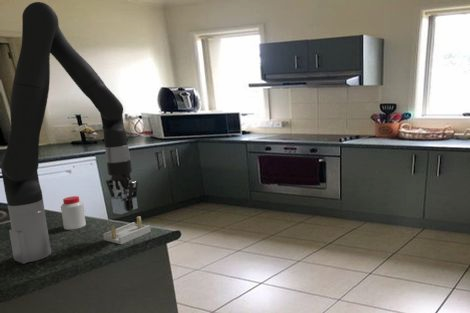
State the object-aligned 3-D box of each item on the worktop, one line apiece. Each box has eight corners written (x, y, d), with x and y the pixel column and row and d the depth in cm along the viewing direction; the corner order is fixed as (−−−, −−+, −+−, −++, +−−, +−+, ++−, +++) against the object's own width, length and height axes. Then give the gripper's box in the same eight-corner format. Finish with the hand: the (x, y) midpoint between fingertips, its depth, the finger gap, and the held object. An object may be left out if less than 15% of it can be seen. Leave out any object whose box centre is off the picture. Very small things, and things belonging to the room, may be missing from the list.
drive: (121, 214, 119) (119, 199, 118) (113, 213, 122) (111, 198, 121) (138, 208, 125) (136, 193, 124) (130, 207, 127) (128, 193, 126)
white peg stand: (121, 244, 117) (119, 229, 116) (104, 239, 122) (102, 225, 121) (150, 231, 126) (149, 217, 126) (133, 228, 132) (132, 214, 131)
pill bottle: (89, 222, 143) (85, 195, 141) (79, 229, 135) (75, 200, 134) (71, 223, 144) (67, 195, 142) (59, 230, 136) (55, 201, 135)
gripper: (95, 161, 122) (103, 211, 124) (122, 162, 113) (130, 215, 116) (114, 157, 128) (121, 204, 130) (141, 158, 119) (148, 208, 122)
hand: (125, 209), depth 123 cm, fingers closed on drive, 4 cm apart
